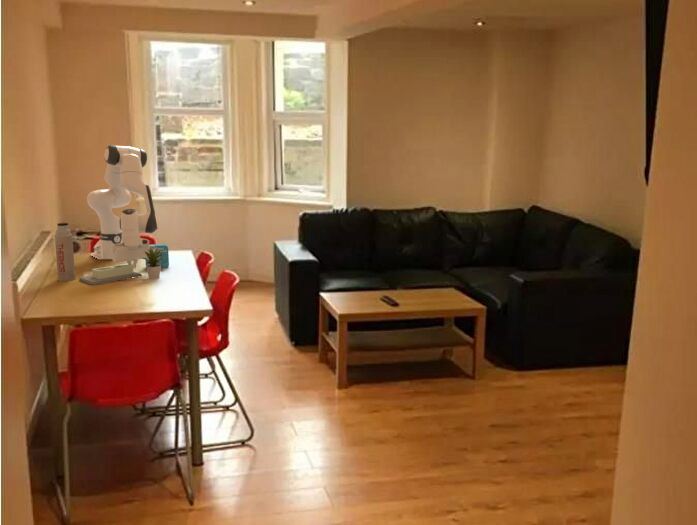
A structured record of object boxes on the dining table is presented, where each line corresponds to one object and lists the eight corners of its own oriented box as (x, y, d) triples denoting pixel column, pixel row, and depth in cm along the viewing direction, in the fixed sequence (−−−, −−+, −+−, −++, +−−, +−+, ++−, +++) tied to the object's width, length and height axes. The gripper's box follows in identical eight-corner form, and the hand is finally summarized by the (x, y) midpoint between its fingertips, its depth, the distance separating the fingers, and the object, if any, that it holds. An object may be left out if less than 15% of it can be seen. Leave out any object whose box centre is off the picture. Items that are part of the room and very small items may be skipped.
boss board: (79, 280, 350) (78, 271, 350) (127, 272, 369) (126, 263, 368) (93, 285, 341) (92, 276, 340) (141, 276, 360) (141, 267, 359)
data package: (145, 268, 378) (144, 246, 376) (145, 266, 383) (144, 244, 380) (169, 267, 382) (168, 245, 379) (168, 265, 386) (167, 243, 383)
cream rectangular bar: (126, 271, 365) (126, 263, 364) (133, 273, 360) (132, 265, 359) (92, 277, 351) (92, 269, 350) (99, 279, 347) (98, 271, 346)
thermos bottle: (66, 281, 348) (61, 224, 342) (54, 279, 351) (50, 223, 346) (79, 278, 355) (74, 222, 349) (67, 276, 358) (63, 221, 353)
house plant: (160, 282, 348) (158, 249, 344) (134, 280, 351) (132, 248, 347) (173, 276, 362) (171, 244, 358) (147, 274, 364) (146, 243, 361)
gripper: (115, 245, 351) (117, 272, 353) (151, 239, 365) (153, 266, 368) (109, 243, 355) (110, 270, 358) (145, 238, 370) (146, 264, 372)
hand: (132, 268), depth 363 cm, fingers closed
